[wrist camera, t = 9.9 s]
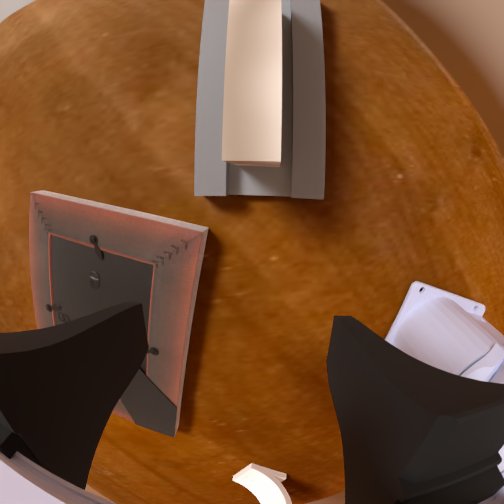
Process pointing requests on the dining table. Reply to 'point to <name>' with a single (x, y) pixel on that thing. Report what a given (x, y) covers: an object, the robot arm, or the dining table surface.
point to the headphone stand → (264, 484)
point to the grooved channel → (293, 109)
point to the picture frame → (121, 287)
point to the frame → (253, 84)
